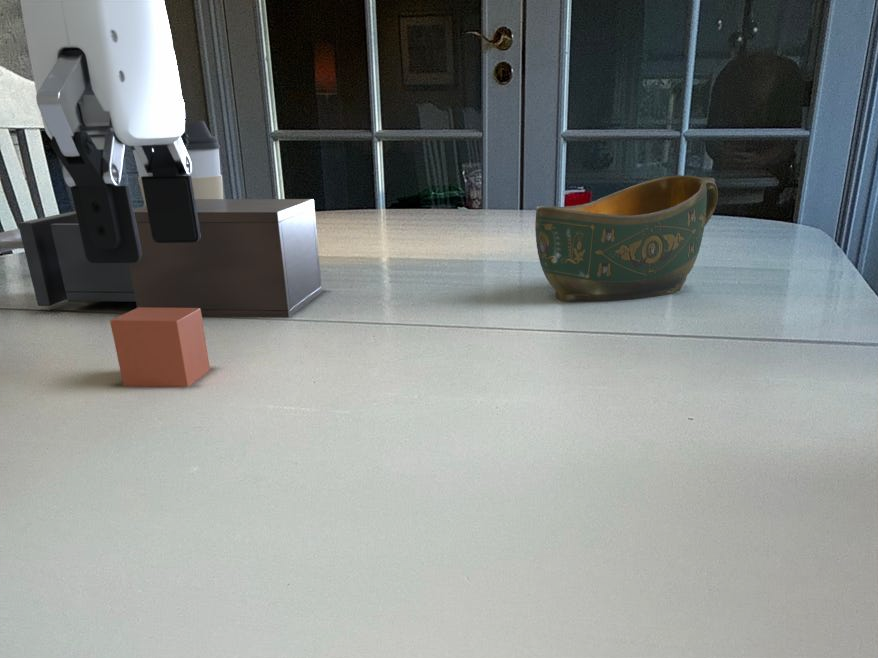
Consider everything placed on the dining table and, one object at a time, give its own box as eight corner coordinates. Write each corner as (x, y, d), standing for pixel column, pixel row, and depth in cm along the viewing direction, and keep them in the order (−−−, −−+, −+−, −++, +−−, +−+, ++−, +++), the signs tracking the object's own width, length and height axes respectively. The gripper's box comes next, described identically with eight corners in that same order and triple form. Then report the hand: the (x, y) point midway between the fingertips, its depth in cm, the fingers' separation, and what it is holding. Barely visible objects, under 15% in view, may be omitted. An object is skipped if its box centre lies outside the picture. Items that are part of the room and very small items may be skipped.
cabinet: (138, 318, 80) (118, 211, 75) (189, 293, 90) (174, 199, 86) (289, 320, 79) (277, 212, 74) (322, 294, 89) (313, 199, 85)
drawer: (-21, 305, 81) (-43, 222, 77) (43, 284, 90) (25, 209, 87) (173, 307, 79) (158, 223, 76) (215, 285, 89) (204, 210, 86)
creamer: (749, 302, 84) (765, 182, 79) (539, 309, 82) (543, 185, 77) (701, 280, 95) (713, 173, 90) (516, 285, 93) (517, 176, 88)
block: (123, 389, 59) (109, 320, 57) (150, 372, 63) (137, 307, 61) (188, 390, 59) (176, 321, 57) (211, 373, 63) (200, 307, 61)
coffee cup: (137, 281, 97) (107, 121, 89) (180, 269, 105) (155, 120, 97) (213, 284, 95) (189, 121, 87) (251, 271, 103) (232, 119, 95)
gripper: (89, -64, 56) (146, 236, 64) (-83, -129, 41) (20, 272, 50) (206, -68, 55) (248, 235, 64) (75, -136, 40) (152, 271, 49)
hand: (148, 251), depth 57 cm, fingers open, 9 cm apart
